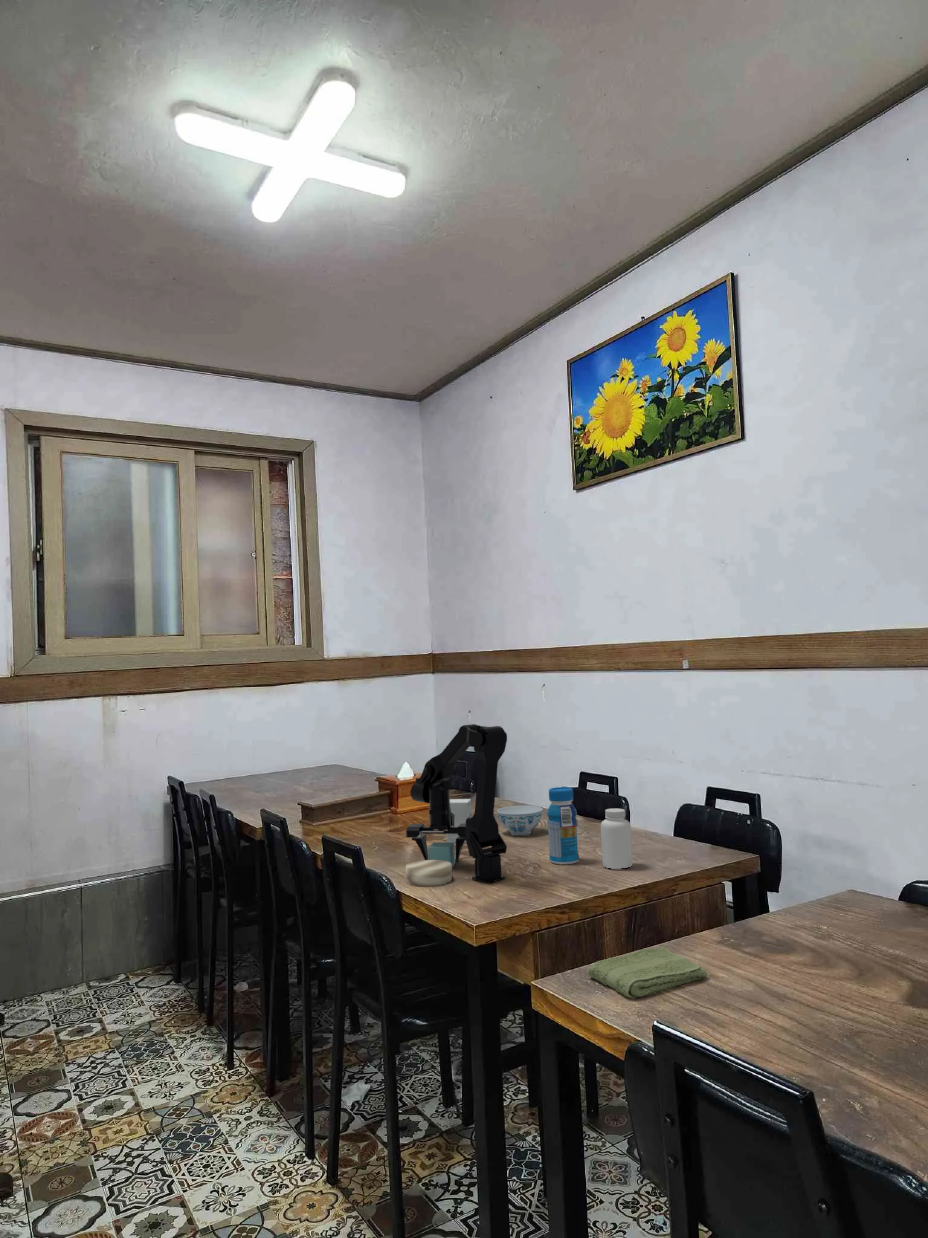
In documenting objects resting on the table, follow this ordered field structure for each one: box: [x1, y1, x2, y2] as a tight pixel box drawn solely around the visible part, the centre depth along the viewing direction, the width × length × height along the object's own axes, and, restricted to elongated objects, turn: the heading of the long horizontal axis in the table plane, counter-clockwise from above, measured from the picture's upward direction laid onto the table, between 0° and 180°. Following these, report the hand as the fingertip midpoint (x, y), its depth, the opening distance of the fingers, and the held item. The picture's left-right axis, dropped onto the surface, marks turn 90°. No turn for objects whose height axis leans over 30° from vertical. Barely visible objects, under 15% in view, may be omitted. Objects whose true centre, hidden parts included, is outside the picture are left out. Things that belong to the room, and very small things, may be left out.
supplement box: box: [445, 798, 473, 844], centre depth 258 cm, size 7×7×13 cm
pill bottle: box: [600, 807, 633, 870], centre depth 217 cm, size 8×8×15 cm
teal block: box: [427, 841, 456, 868], centre depth 225 cm, size 6×6×6 cm
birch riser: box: [405, 859, 453, 887], centre depth 211 cm, size 12×12×4 cm
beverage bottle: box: [546, 786, 580, 865], centre depth 225 cm, size 8×8×20 cm
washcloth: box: [587, 947, 709, 1000], centre depth 141 cm, size 13×18×3 cm
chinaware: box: [496, 805, 544, 836], centre depth 264 cm, size 15×15×8 cm
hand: (442, 861), depth 225 cm, fingers open, 8 cm apart
